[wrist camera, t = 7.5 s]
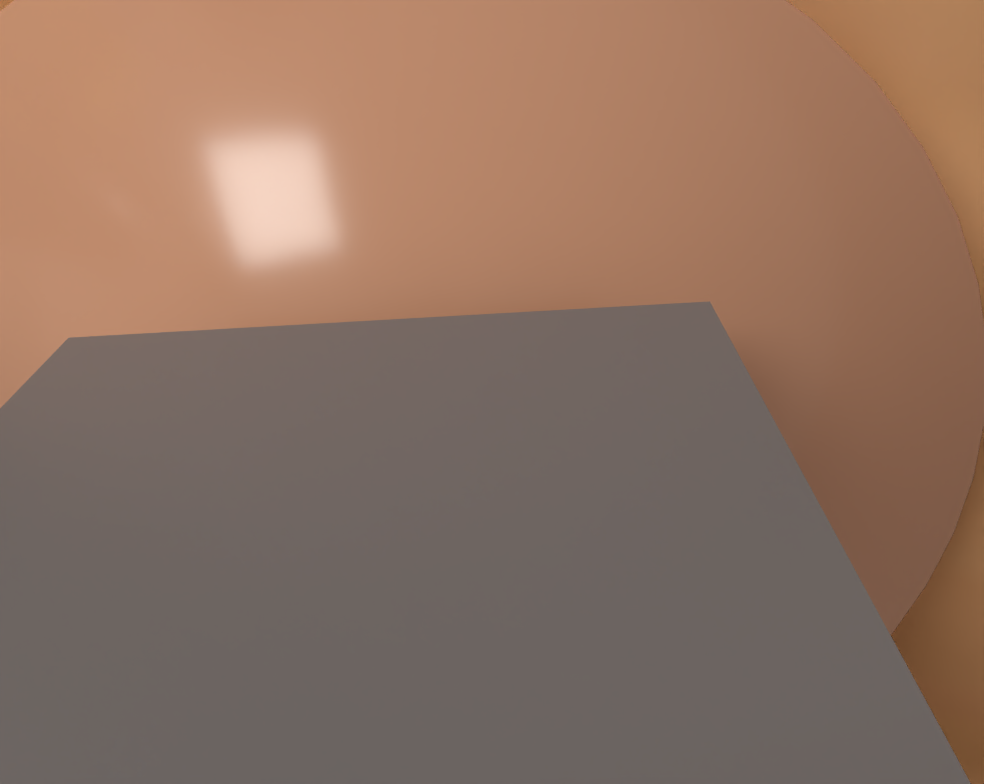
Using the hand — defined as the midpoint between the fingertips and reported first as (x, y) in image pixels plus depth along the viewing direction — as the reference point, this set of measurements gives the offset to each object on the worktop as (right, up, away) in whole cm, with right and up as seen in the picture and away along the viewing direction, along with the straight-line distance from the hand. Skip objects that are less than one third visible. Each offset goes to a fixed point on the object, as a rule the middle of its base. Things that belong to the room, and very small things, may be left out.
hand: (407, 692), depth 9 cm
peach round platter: (0, +2, +4) cm, 4 cm away
